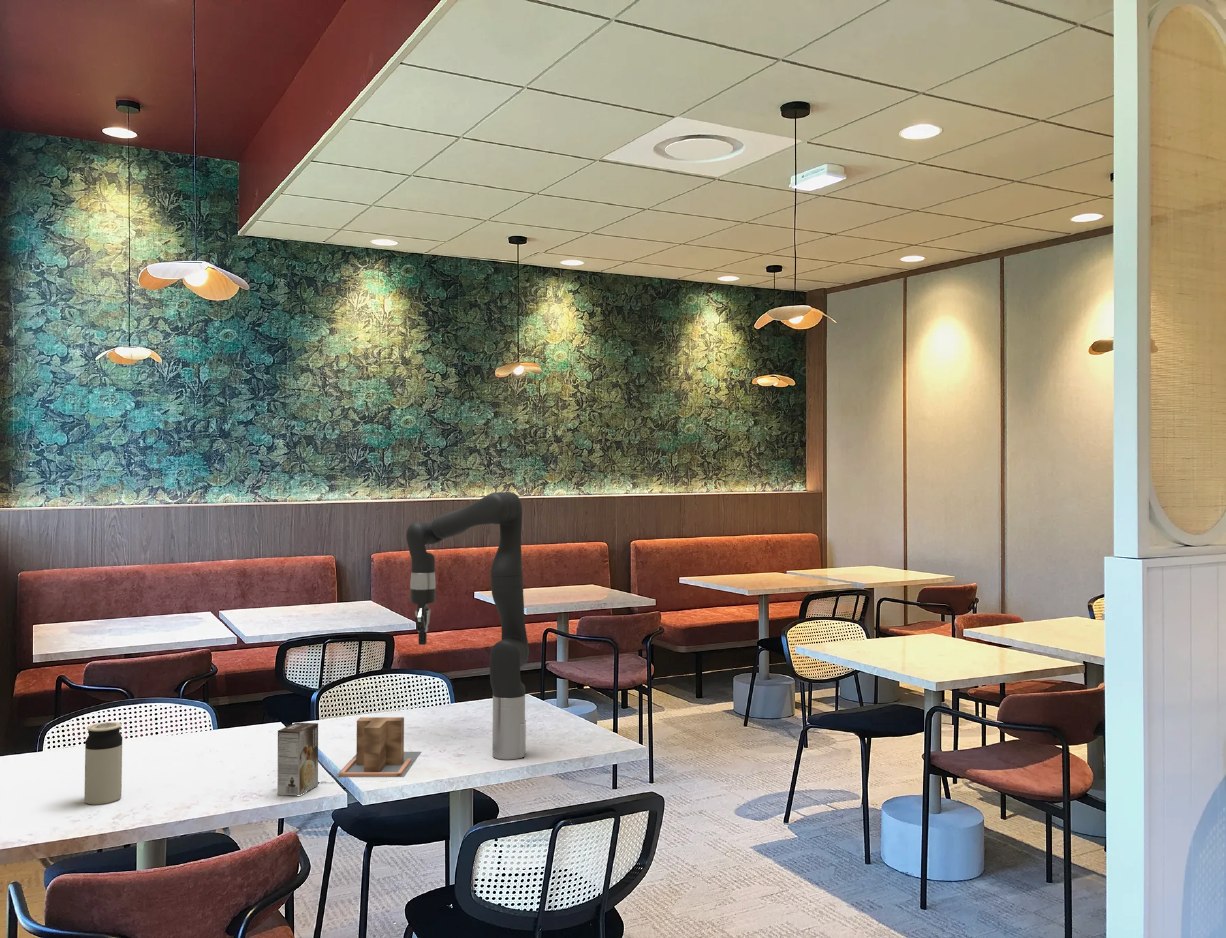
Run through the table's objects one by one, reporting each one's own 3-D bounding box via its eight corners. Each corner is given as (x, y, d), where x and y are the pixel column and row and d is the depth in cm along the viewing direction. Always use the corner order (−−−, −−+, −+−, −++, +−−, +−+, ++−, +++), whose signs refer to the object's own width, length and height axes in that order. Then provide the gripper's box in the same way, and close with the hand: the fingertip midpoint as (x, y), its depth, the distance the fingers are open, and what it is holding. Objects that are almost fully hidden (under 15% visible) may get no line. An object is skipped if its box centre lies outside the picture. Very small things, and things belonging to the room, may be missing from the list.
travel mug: (127, 794, 238) (128, 721, 238) (111, 805, 230) (112, 729, 230) (94, 795, 237) (95, 721, 238) (77, 805, 230) (79, 729, 230)
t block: (403, 761, 265) (404, 717, 265) (394, 773, 253) (394, 727, 253) (360, 761, 265) (360, 717, 265) (348, 773, 253) (349, 727, 253)
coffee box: (295, 784, 246) (296, 721, 247) (318, 786, 245) (319, 722, 246) (276, 795, 237) (277, 730, 238) (299, 797, 236) (300, 731, 237)
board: (421, 755, 275) (421, 748, 275) (404, 780, 250) (404, 773, 250) (358, 755, 274) (358, 748, 274) (334, 781, 249) (334, 774, 250)
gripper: (431, 589, 287) (431, 647, 286) (438, 585, 300) (438, 641, 299) (406, 589, 286) (405, 647, 286) (414, 585, 300) (414, 641, 299)
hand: (422, 644), depth 293 cm, fingers closed
